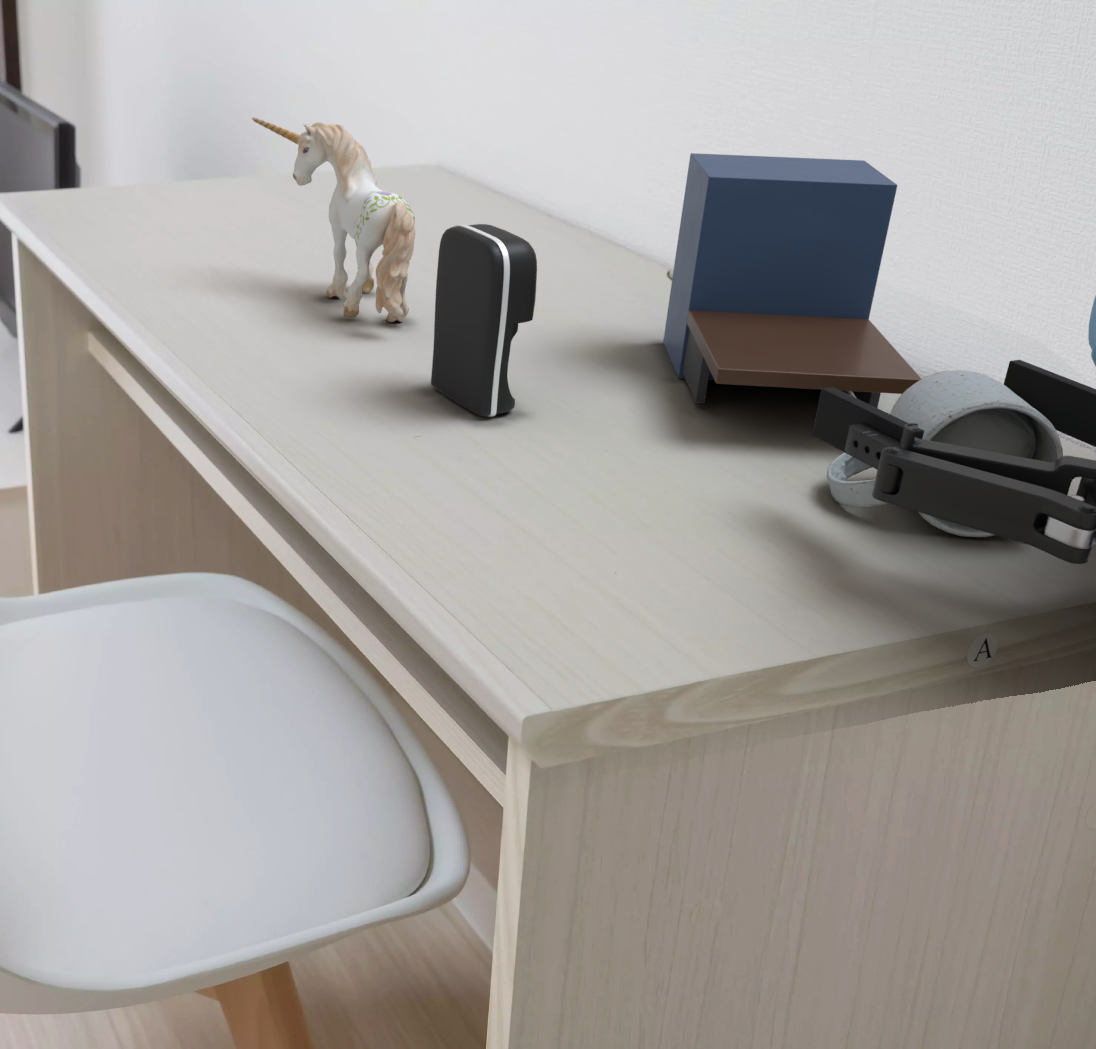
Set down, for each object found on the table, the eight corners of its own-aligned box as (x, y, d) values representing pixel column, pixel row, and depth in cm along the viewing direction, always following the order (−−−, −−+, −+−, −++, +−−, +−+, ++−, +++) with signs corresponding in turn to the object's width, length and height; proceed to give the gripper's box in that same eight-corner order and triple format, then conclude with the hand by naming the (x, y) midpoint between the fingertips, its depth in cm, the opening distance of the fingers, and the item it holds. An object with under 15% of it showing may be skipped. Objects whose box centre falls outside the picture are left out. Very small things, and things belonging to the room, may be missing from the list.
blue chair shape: (826, 351, 100) (864, 160, 94) (905, 456, 82) (959, 229, 76) (662, 342, 101) (690, 153, 95) (705, 444, 83) (743, 220, 77)
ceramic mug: (996, 481, 79) (1027, 357, 76) (1045, 543, 72) (1082, 409, 68) (810, 471, 80) (832, 348, 77) (839, 531, 73) (866, 398, 70)
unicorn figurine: (320, 268, 117) (324, 110, 111) (464, 328, 103) (478, 150, 97) (250, 279, 114) (250, 116, 108) (390, 343, 99) (399, 160, 93)
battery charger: (532, 414, 87) (550, 239, 82) (482, 422, 86) (498, 245, 81) (474, 379, 93) (487, 214, 88) (426, 387, 91) (437, 219, 86)
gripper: (1057, 695, 55) (725, 489, 72) (1441, 592, 64) (1062, 430, 81) (1109, 530, 51) (748, 356, 69) (1507, 445, 60) (1097, 310, 78)
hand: (917, 396), depth 75 cm, fingers open, 13 cm apart
